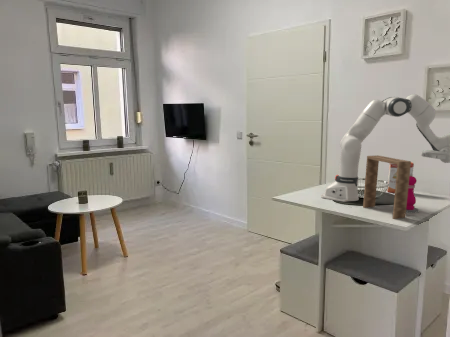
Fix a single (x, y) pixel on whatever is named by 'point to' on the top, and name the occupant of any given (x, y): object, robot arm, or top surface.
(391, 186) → the cracker box
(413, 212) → the charcoal mat
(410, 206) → the pepper mill
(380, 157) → the walnut arch
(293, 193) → the top surface
